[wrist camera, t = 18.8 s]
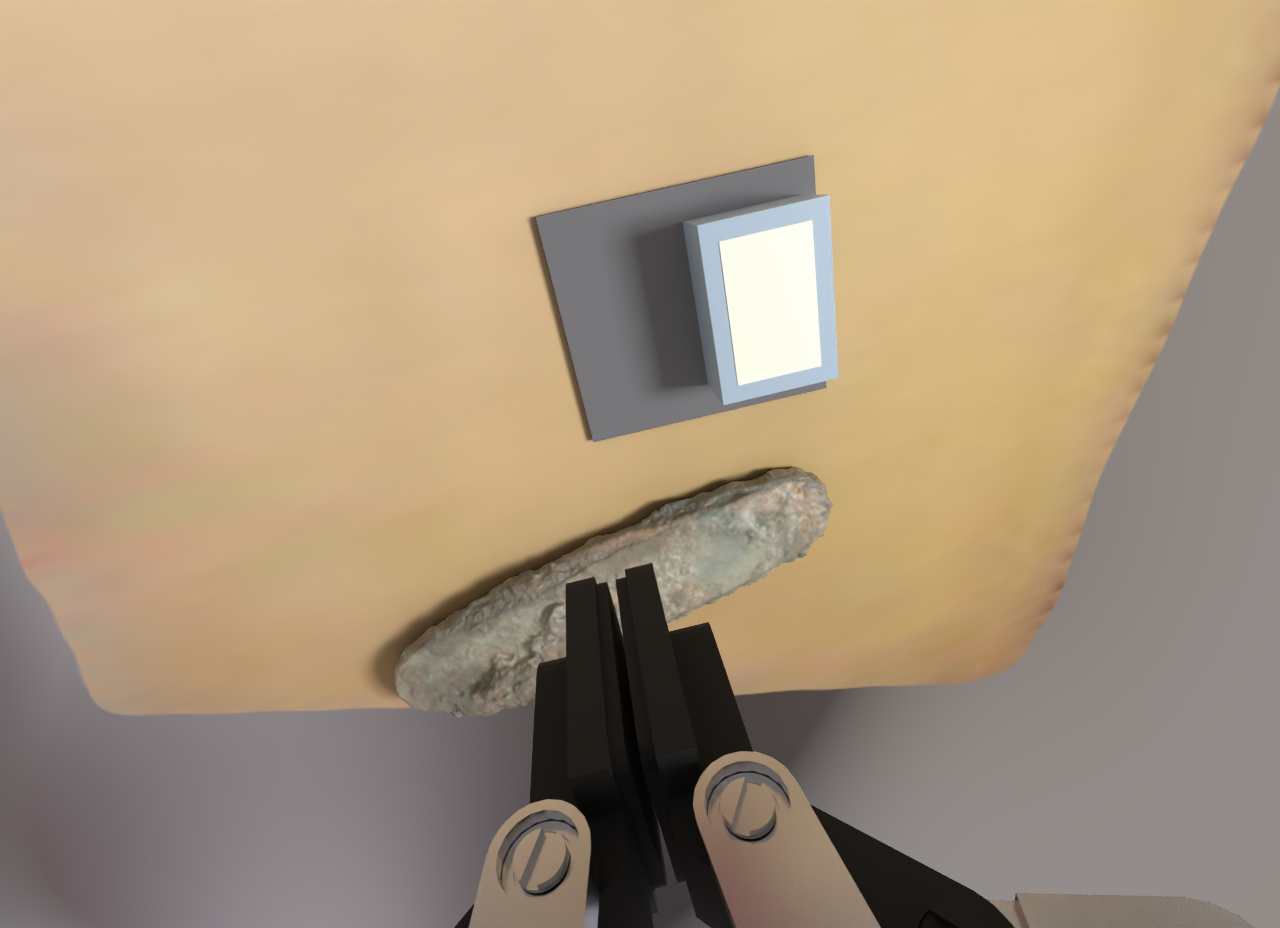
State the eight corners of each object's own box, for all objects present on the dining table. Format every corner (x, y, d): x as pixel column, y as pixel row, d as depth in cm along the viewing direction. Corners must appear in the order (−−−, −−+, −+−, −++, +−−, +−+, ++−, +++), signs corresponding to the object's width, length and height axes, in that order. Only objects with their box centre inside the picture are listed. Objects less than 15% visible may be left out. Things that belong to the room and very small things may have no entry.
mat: (535, 216, 32) (535, 217, 32) (810, 155, 33) (813, 155, 32) (593, 439, 39) (593, 442, 38) (823, 385, 39) (826, 387, 39)
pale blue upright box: (697, 225, 29) (829, 195, 30) (682, 221, 33) (800, 194, 33) (723, 405, 34) (838, 378, 34) (708, 384, 37) (812, 360, 38)
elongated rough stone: (829, 526, 46) (787, 421, 42) (862, 560, 41) (819, 445, 37) (445, 720, 47) (370, 635, 43) (433, 775, 42) (348, 685, 39)
